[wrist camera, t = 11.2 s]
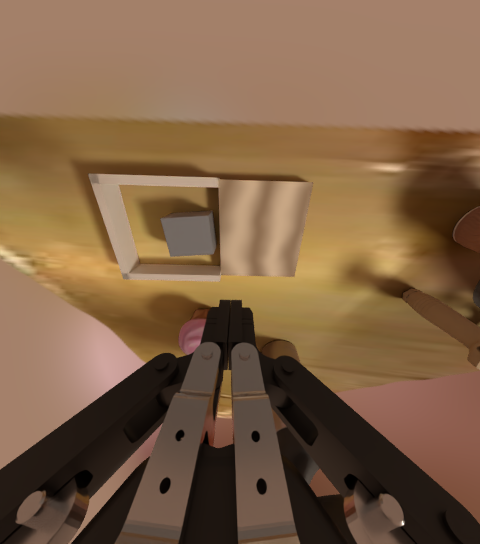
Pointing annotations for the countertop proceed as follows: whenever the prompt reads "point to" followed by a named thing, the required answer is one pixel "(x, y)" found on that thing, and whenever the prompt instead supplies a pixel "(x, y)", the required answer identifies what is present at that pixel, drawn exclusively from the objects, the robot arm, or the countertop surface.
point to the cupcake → (193, 331)
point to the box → (122, 235)
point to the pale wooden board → (261, 226)
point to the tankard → (477, 295)
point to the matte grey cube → (190, 233)
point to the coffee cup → (469, 230)
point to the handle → (447, 321)
